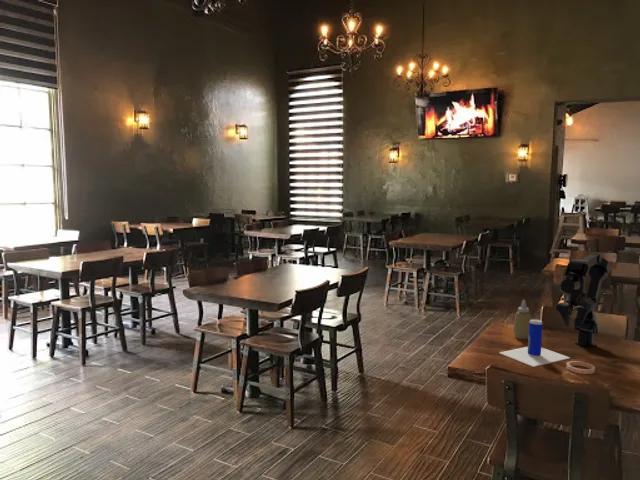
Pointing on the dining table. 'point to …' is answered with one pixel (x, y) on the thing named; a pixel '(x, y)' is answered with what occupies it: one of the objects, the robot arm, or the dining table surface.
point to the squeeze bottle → (522, 322)
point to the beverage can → (535, 337)
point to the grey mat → (525, 358)
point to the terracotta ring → (581, 371)
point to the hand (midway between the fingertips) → (574, 325)
